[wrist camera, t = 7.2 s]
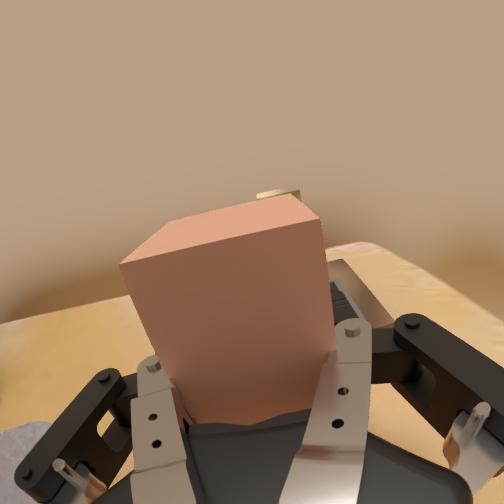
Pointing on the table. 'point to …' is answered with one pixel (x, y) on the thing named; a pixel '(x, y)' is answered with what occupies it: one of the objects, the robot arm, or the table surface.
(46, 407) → the table surface
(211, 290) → the terracotta pillar
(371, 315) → the brown board
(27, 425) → the stone block
